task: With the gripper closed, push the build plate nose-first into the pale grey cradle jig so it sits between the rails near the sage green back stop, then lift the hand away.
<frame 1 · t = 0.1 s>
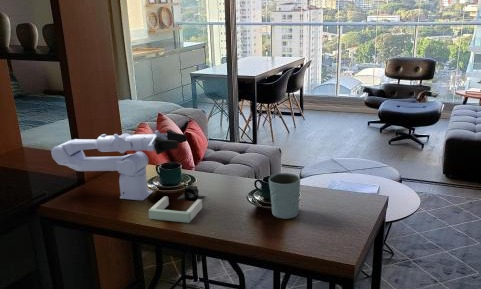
hand: (182, 141, 159), 22 cm above the table, tool horizontal, fingers open, 7 cm apart
cradle: (177, 212, 156), on the table
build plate: (191, 199, 167), on the table
pale green cup: (284, 213, 152), on the table
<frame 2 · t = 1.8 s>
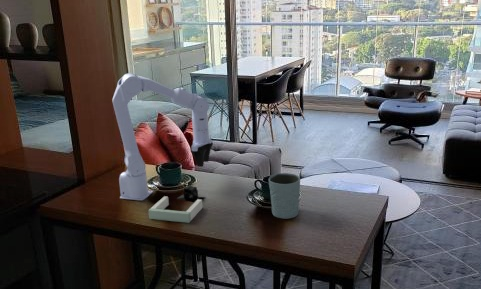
hand: (203, 163, 176), 8 cm above the table, tool pointing down, fingers open, 5 cm apart
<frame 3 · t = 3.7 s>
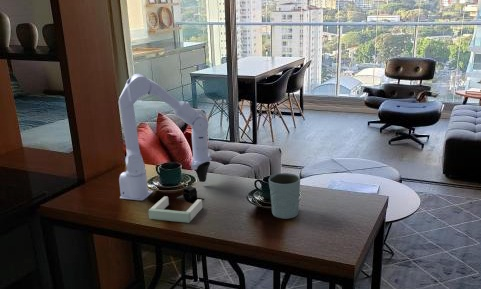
hand: (202, 181, 176), 2 cm above the table, tool pointing down, fingers closed
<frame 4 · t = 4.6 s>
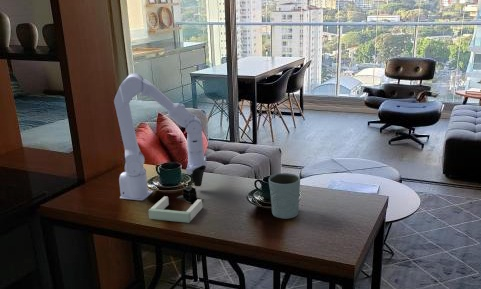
hand: (198, 185, 172), 2 cm above the table, tool pointing down, fingers closed
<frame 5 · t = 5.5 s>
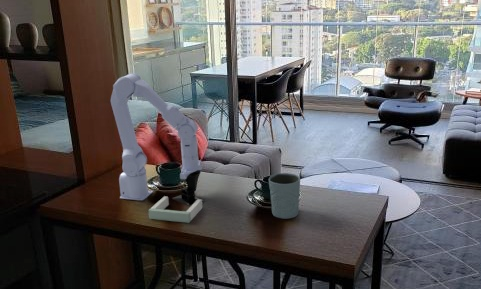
hand: (192, 191, 167), 2 cm above the table, tool pointing down, fingers closed
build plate: (188, 201, 165), on the table, touching gripper
everything else where it was.
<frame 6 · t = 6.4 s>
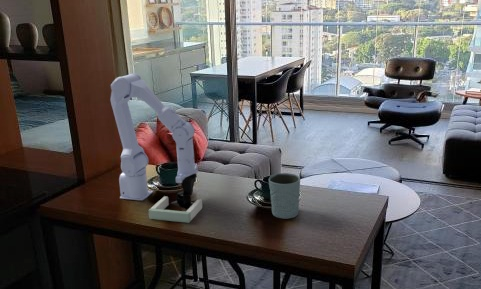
hand: (188, 194, 164), 2 cm above the table, tool pointing down, fingers closed
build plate: (184, 205, 162), on the table, touching gripper
everything else where it was.
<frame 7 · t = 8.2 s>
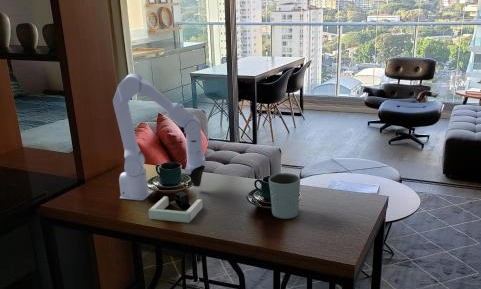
hand: (197, 185, 171), 2 cm above the table, tool pointing down, fingers closed
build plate: (182, 206, 162), on the table
everything else where it was.
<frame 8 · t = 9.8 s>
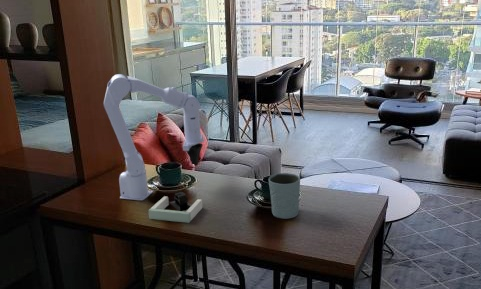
hand: (194, 163, 174), 9 cm above the table, tool pointing down, fingers closed
at the end: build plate inside the target area (2.7 cm from its centre), on the table; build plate tilted 0° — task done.
